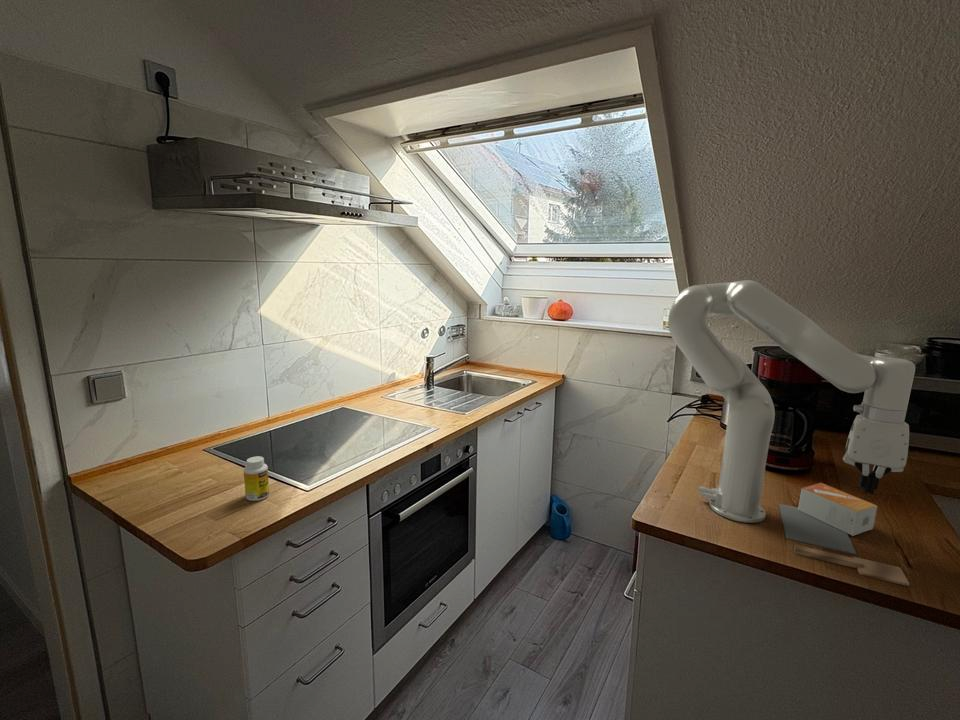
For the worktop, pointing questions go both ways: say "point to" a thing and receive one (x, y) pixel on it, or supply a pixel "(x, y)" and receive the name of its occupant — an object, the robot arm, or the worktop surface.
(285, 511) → the worktop surface
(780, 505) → the mat
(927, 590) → the worktop surface
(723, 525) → the worktop surface
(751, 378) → the robot arm
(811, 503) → the small box
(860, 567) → the light wooden turner
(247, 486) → the supplement bottle
